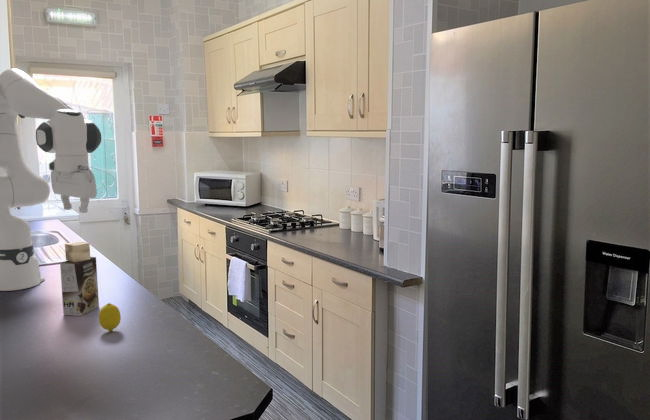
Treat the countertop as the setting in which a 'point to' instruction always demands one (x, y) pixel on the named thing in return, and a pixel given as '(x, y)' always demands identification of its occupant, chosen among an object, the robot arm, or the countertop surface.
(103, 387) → the countertop surface
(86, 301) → the coffee box
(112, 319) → the lemon
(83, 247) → the beech cube
